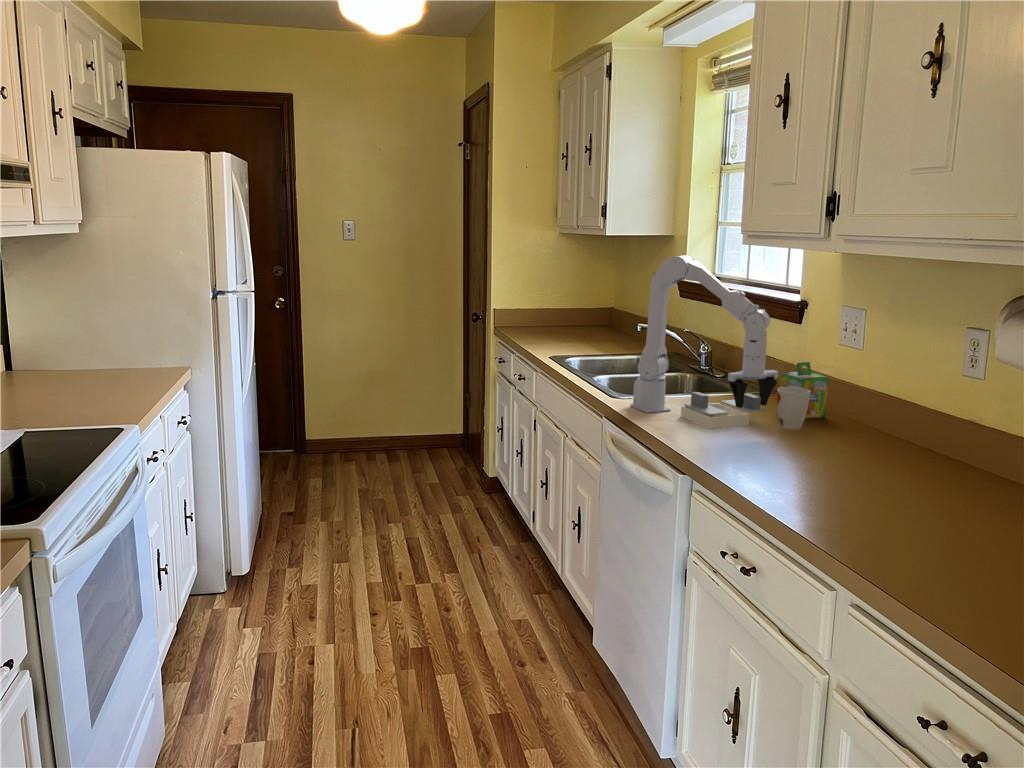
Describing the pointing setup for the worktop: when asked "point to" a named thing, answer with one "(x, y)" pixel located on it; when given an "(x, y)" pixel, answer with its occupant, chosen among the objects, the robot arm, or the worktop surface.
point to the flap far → (747, 403)
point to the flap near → (703, 404)
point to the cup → (792, 406)
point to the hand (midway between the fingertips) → (751, 405)
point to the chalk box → (809, 388)
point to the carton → (717, 417)
